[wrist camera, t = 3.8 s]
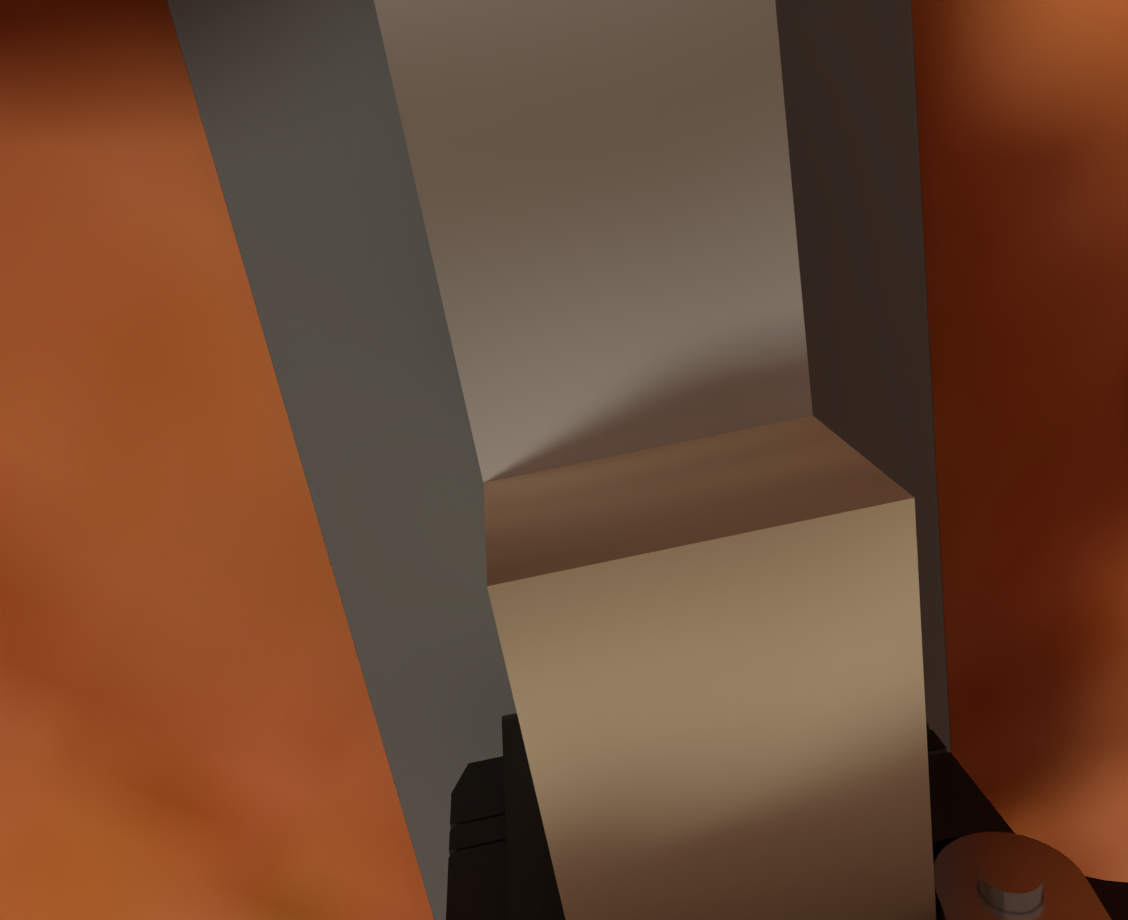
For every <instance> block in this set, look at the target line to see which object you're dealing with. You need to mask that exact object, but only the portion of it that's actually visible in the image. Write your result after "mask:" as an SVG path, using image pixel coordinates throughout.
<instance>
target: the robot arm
mask: <svg viewBox="0 0 1128 920" xmlns="http://www.w3.org/2000/svg"><path fill="white" fill-rule="evenodd" d="M926 730H927V750H928V769H929V788H930V808H931V827H932V846H933V866H934V885H935V905H936V920H1128V883H1127V882H1115V881H1105V880H1100V879H1095V878H1090V877H1087V876H1084V874H1083V873H1082V871H1081V870H1080V869H1079V868H1078V867H1077V866H1076V865H1075V864H1074V863H1073V862H1072V861H1071V860H1070V859H1069V858H1068V857H1066V856H1065V855H1064V854H1062V853H1061V852H1060V851H1058V850H1056V849H1055V848H1053V847H1051V846H1049V845H1047V844H1045V843H1043V842H1041V841H1038V840H1036V839H1033V838H1030V837H1026V836H1023V835H1018V834H1015V833H1014V832H1013V831H1012V829H1011V828H1010V827H1009V826H1008V824H1007V823H1006V822H1005V820H1004V819H1003V818H1002V817H1001V815H1000V814H999V813H998V812H997V810H996V809H995V808H994V807H993V805H992V804H991V803H990V802H989V800H988V799H987V798H986V796H985V795H984V794H983V793H982V791H981V790H980V789H979V788H978V786H977V785H976V784H975V783H974V781H973V780H972V779H971V778H970V776H969V775H968V774H967V773H966V771H965V770H964V769H963V767H962V766H961V765H960V764H959V762H958V761H957V760H956V759H955V757H954V756H953V755H952V754H951V752H947V750H946V746H945V745H944V743H943V742H942V741H941V740H940V738H939V737H938V736H937V735H936V733H935V732H934V731H933V730H930V729H929V725H928V723H927V722H926ZM502 743H503V756H501V757H496V758H491V759H487V760H482V761H477V762H472V763H468V765H467V767H466V768H465V770H464V772H463V774H462V775H461V777H460V779H459V781H458V782H457V784H456V786H455V788H454V789H453V791H452V793H451V810H450V828H451V831H450V834H449V854H450V857H448V881H447V904H446V920H566V919H565V915H564V911H563V907H562V902H561V898H560V894H559V890H558V885H557V881H556V877H555V873H554V868H553V864H552V860H551V856H550V851H549V847H548V843H547V839H546V834H545V830H544V826H543V822H542V817H541V813H540V809H539V805H538V800H537V796H536V792H535V788H534V783H533V779H532V775H531V771H530V767H529V762H528V758H527V754H526V750H525V745H524V741H523V737H522V733H521V728H520V724H519V720H518V716H517V713H513V714H509V715H504V716H502Z"/></svg>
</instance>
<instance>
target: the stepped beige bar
mask: <svg viewBox="0 0 1128 920" xmlns="http://www.w3.org/2000/svg"><path fill="white" fill-rule="evenodd" d="M374 4H375V8H376V13H377V17H378V21H379V26H380V30H381V35H382V39H383V43H384V48H385V52H386V57H387V61H388V65H389V70H390V74H391V79H392V83H393V87H394V92H395V96H396V101H397V105H398V109H399V114H400V118H401V123H402V127H403V131H404V136H405V140H406V145H407V149H408V153H409V158H410V162H411V167H412V171H413V175H414V180H415V184H416V189H417V193H418V197H419V202H420V206H421V211H422V215H423V219H424V224H425V228H426V233H427V237H428V241H429V246H430V250H431V255H432V259H433V263H434V268H435V272H436V277H437V281H438V285H439V290H440V294H441V299H442V303H443V307H444V312H445V316H446V321H447V325H448V329H449V334H450V338H451V343H452V347H453V351H454V356H455V360H456V365H457V369H458V373H459V378H460V382H461V387H462V391H463V395H464V400H465V404H466V409H467V413H468V417H469V422H470V426H471V431H472V435H473V439H474V444H475V448H476V453H477V457H478V462H479V466H480V470H481V475H482V479H483V488H484V516H485V543H486V571H487V588H488V592H489V597H490V601H491V605H492V609H493V614H494V618H495V622H496V626H497V631H498V635H499V639H500V643H501V648H502V652H503V656H504V660H505V665H506V669H507V673H508V677H509V682H510V686H511V690H512V694H513V699H514V703H515V707H516V711H517V716H518V720H519V724H520V728H521V733H522V737H523V741H524V745H525V750H526V754H527V758H528V762H529V767H530V771H531V775H532V779H533V783H534V788H535V792H536V796H537V800H538V805H539V809H540V813H541V817H542V822H543V826H544V830H545V834H546V839H547V843H548V847H549V851H550V856H551V860H552V864H553V868H554V873H555V877H556V881H557V885H558V890H559V894H560V898H561V902H562V907H563V911H564V915H565V919H566V920H936V905H935V885H934V866H933V846H932V827H931V808H930V788H929V769H928V750H927V730H926V711H925V692H924V672H923V653H922V633H921V614H920V595H919V575H918V556H917V537H916V517H915V498H914V497H913V496H912V495H910V494H909V493H908V492H907V491H905V490H904V489H903V488H902V487H901V486H899V485H898V484H897V483H896V482H894V481H893V480H892V479H891V478H889V477H888V476H887V475H886V474H884V473H883V472H882V471H881V470H880V469H878V468H877V467H876V466H875V465H873V464H872V463H871V462H870V461H868V460H867V459H866V458H865V457H863V456H862V455H861V454H860V453H859V452H857V451H856V450H855V449H854V448H852V447H851V446H850V445H849V444H847V443H846V442H845V441H844V440H842V439H841V438H840V437H839V436H837V435H836V434H835V433H834V432H833V431H831V430H830V429H829V428H828V427H826V426H825V425H824V424H823V423H821V422H820V421H819V420H818V419H816V418H815V417H814V416H813V413H812V402H811V391H810V380H809V369H808V358H807V346H806V335H805V324H804V313H803V302H802V291H801V280H800V269H799V258H798V247H797V236H796V225H795V214H794V203H793V192H792V180H791V169H790V158H789V147H788V136H787V125H786V114H785V103H784V92H783V81H782V70H781V59H780V48H779V37H778V26H777V14H776V3H775V0H374Z"/></svg>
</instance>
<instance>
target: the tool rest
mask: <svg viewBox="0 0 1128 920" xmlns="http://www.w3.org/2000/svg"><path fill="white" fill-rule="evenodd" d="M167 2H168V6H169V9H170V13H171V16H172V20H173V23H174V27H175V30H176V33H177V37H178V40H179V44H180V47H181V51H182V54H183V57H184V61H185V64H186V68H187V71H188V75H189V78H190V82H191V85H192V88H193V92H194V95H195V99H196V102H197V106H198V109H199V112H200V116H201V119H202V123H203V126H204V130H205V133H206V137H207V140H208V143H209V147H210V150H211V154H212V157H213V161H214V164H215V167H216V171H217V174H218V178H219V181H220V185H221V188H222V192H223V195H224V198H225V202H226V205H227V209H228V212H229V216H230V219H231V222H232V226H233V229H234V233H235V236H236V240H237V243H238V247H239V250H240V253H241V257H242V260H243V264H244V267H245V271H246V274H247V277H248V281H249V284H250V288H251V291H252V295H253V298H254V302H255V305H256V308H257V312H258V315H259V319H260V322H261V326H262V329H263V332H264V336H265V339H266V343H267V346H268V350H269V353H270V357H271V360H272V363H273V367H274V370H275V374H276V377H277V381H278V384H279V387H280V391H281V394H282V398H283V401H284V405H285V408H286V412H287V415H288V418H289V422H290V425H291V429H292V432H293V436H294V439H295V442H296V446H297V449H298V453H299V456H300V460H301V463H302V467H303V470H304V473H305V477H306V480H307V484H308V487H309V491H310V494H311V497H312V501H313V504H314V508H315V511H316V515H317V518H318V522H319V525H320V528H321V532H322V535H323V539H324V542H325V546H326V549H327V552H328V556H329V559H330V563H331V566H332V570H333V573H334V577H335V580H336V583H337V587H338V590H339V594H340V597H341V601H342V604H343V607H344V611H345V614H346V618H347V621H348V625H349V628H350V632H351V635H352V638H353V642H354V645H355V649H356V652H357V656H358V659H359V662H360V666H361V669H362V673H363V676H364V680H365V683H366V687H367V690H368V693H369V697H370V700H371V704H372V707H373V711H374V714H375V717H376V721H377V724H378V728H379V731H380V735H381V738H382V742H383V745H384V748H385V752H386V755H387V759H388V762H389V766H390V769H391V772H392V776H393V779H394V783H395V786H396V790H397V793H398V797H399V800H400V803H401V807H402V810H403V814H404V817H405V821H406V824H407V828H408V831H409V834H410V838H411V841H412V845H413V848H414V852H415V855H416V858H417V862H418V865H419V869H420V872H421V876H422V879H423V883H424V886H425V889H426V893H427V896H428V900H429V903H430V907H431V910H432V913H433V917H434V920H446V904H447V881H448V857H450V854H449V834H450V831H451V828H450V810H451V793H452V791H453V789H454V788H455V786H456V784H457V782H458V781H459V779H460V777H461V775H462V774H463V772H464V770H465V768H466V767H467V765H468V763H472V762H477V761H482V760H487V759H491V758H496V757H501V756H503V743H502V716H504V715H509V714H513V713H517V711H516V707H515V703H514V699H513V694H512V690H511V686H510V682H509V677H508V673H507V669H506V665H505V660H504V656H503V652H502V648H501V643H500V639H499V635H498V631H497V626H496V622H495V618H494V614H493V609H492V605H491V601H490V597H489V592H488V588H487V571H486V543H485V516H484V488H483V479H482V475H481V470H480V466H479V462H478V457H477V453H476V448H475V444H474V439H473V435H472V431H471V426H470V422H469V417H468V413H467V409H466V404H465V400H464V395H463V391H462V387H461V382H460V378H459V373H458V369H457V365H456V360H455V356H454V351H453V347H452V343H451V338H450V334H449V329H448V325H447V321H446V316H445V312H444V307H443V303H442V299H441V294H440V290H439V285H438V281H437V277H436V272H435V268H434V263H433V259H432V255H431V250H430V246H429V241H428V237H427V233H426V228H425V224H424V219H423V215H422V211H421V206H420V202H419V197H418V193H417V189H416V184H415V180H414V175H413V171H412V167H411V162H410V158H409V153H408V149H407V145H406V140H405V136H404V131H403V127H402V123H401V118H400V114H399V109H398V105H397V101H396V96H395V92H394V87H393V83H392V79H391V74H390V70H389V65H388V61H387V57H386V52H385V48H384V43H383V39H382V35H381V30H380V26H379V21H378V17H377V13H376V8H375V4H374V0H167ZM775 3H776V14H777V26H778V37H779V48H780V59H781V70H782V81H783V92H784V103H785V114H786V125H787V136H788V147H789V158H790V169H791V180H792V192H793V203H794V214H795V225H796V236H797V247H798V258H799V269H800V280H801V291H802V302H803V313H804V324H805V335H806V346H807V358H808V369H809V380H810V391H811V402H812V413H813V416H814V417H815V418H816V419H818V420H819V421H820V422H821V423H823V424H824V425H825V426H826V427H828V428H829V429H830V430H831V431H833V432H834V433H835V434H836V435H837V436H839V437H840V438H841V439H842V440H844V441H845V442H846V443H847V444H849V445H850V446H851V447H852V448H854V449H855V450H856V451H857V452H859V453H860V454H861V455H862V456H863V457H865V458H866V459H867V460H868V461H870V462H871V463H872V464H873V465H875V466H876V467H877V468H878V469H880V470H881V471H882V472H883V473H884V474H886V475H887V476H888V477H889V478H891V479H892V480H893V481H894V482H896V483H897V484H898V485H899V486H901V487H902V488H903V489H904V490H905V491H907V492H908V493H909V494H910V495H912V496H913V497H914V498H915V517H916V537H917V556H918V575H919V595H920V614H921V633H922V653H923V672H924V692H925V711H926V722H927V723H928V725H929V729H930V730H933V731H934V732H935V733H936V735H937V736H938V737H939V738H940V740H941V741H942V742H943V743H944V745H945V746H946V750H947V752H951V744H950V725H949V706H948V687H947V668H946V650H945V631H944V612H943V593H942V574H941V555H940V536H939V517H938V498H937V479H936V460H935V441H934V422H933V403H932V384H931V365H930V346H929V328H928V309H927V290H926V271H925V252H924V233H923V214H922V195H921V176H920V157H919V138H918V119H917V100H916V81H915V62H914V44H913V25H912V6H911V0H775Z"/></svg>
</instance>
